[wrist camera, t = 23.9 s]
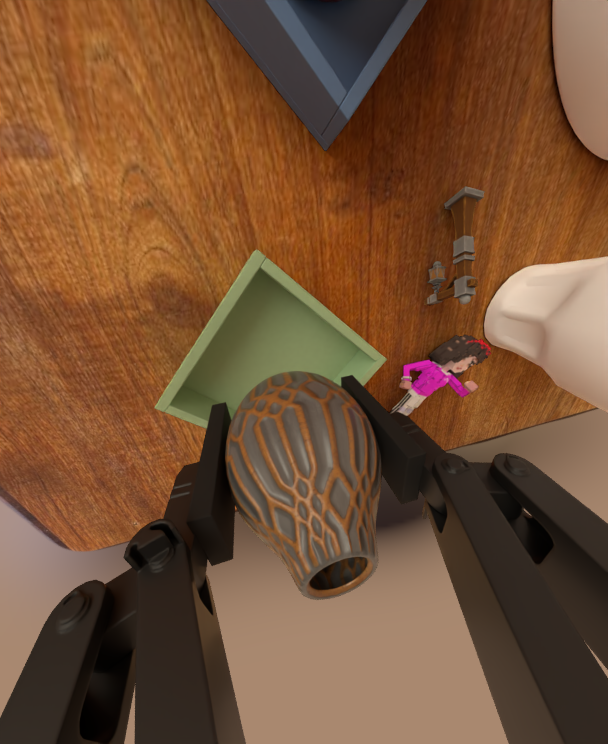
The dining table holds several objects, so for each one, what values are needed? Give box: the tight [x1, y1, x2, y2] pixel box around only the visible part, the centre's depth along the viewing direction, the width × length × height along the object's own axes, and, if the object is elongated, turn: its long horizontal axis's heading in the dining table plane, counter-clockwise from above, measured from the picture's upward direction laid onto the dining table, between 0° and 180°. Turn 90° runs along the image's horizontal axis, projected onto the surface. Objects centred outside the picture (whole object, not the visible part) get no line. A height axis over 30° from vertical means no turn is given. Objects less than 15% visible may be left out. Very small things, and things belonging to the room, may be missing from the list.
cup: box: [484, 257, 608, 413], centre depth 19 cm, size 12×12×11 cm
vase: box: [225, 371, 382, 600], centre depth 10 cm, size 7×7×9 cm
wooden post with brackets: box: [424, 186, 484, 305], centre depth 18 cm, size 2×8×4 cm, turn 174°
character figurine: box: [389, 335, 491, 416], centre depth 23 cm, size 6×5×12 cm
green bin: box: [155, 249, 387, 429], centre depth 18 cm, size 12×12×4 cm
